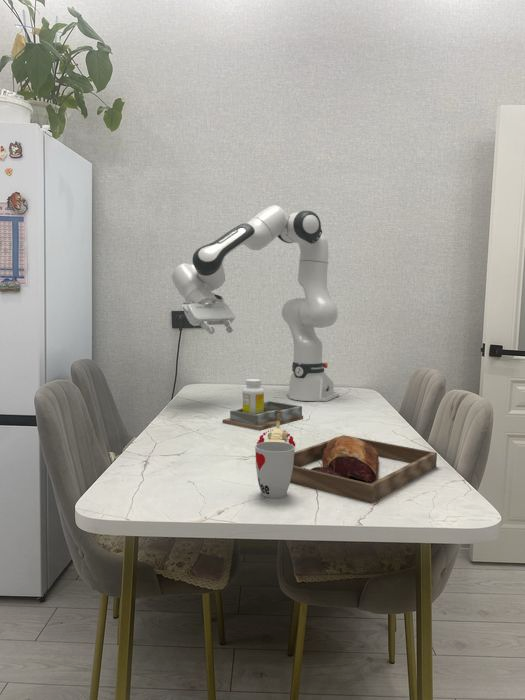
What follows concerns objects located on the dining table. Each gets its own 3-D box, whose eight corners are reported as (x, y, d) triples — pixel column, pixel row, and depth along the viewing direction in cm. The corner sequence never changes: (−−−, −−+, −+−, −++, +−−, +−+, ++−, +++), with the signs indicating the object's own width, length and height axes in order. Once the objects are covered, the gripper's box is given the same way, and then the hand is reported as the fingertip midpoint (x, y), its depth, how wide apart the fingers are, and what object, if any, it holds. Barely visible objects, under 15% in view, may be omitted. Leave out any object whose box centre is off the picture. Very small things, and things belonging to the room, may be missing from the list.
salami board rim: (343, 447, 161) (343, 435, 160) (436, 466, 145) (436, 452, 144) (268, 476, 135) (268, 461, 135) (371, 503, 119) (372, 486, 119)
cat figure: (260, 442, 170) (254, 460, 145) (261, 412, 170) (255, 424, 145) (295, 443, 170) (295, 461, 145) (296, 413, 170) (295, 425, 145)
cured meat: (297, 489, 127) (298, 457, 127) (306, 457, 152) (307, 431, 151) (383, 497, 125) (385, 465, 124) (378, 463, 149) (379, 436, 149)
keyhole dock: (267, 412, 206) (267, 400, 206) (303, 418, 197) (303, 406, 197) (222, 422, 188) (222, 410, 188) (259, 430, 179) (260, 417, 179)
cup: (253, 487, 127) (253, 441, 126) (290, 487, 128) (292, 441, 127) (255, 501, 119) (256, 451, 118) (296, 500, 120) (297, 451, 119)
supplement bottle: (264, 418, 191) (265, 378, 190) (262, 423, 185) (263, 381, 183) (243, 417, 192) (244, 378, 191) (241, 422, 185) (241, 381, 184)
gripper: (184, 296, 198) (205, 327, 193) (225, 296, 214) (245, 325, 209) (174, 309, 202) (195, 339, 197) (216, 308, 218) (236, 336, 213)
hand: (221, 332), depth 203 cm, fingers open, 8 cm apart
